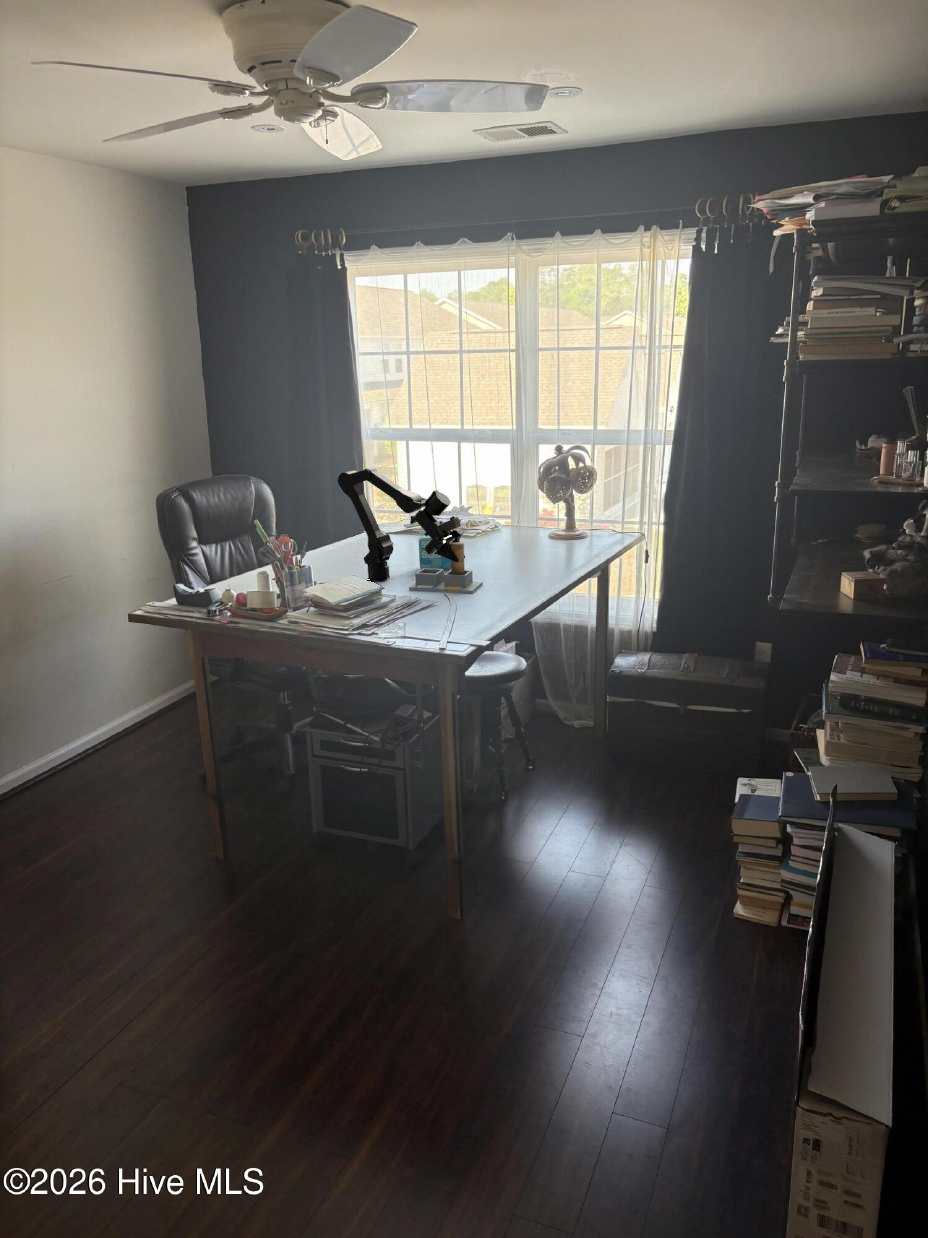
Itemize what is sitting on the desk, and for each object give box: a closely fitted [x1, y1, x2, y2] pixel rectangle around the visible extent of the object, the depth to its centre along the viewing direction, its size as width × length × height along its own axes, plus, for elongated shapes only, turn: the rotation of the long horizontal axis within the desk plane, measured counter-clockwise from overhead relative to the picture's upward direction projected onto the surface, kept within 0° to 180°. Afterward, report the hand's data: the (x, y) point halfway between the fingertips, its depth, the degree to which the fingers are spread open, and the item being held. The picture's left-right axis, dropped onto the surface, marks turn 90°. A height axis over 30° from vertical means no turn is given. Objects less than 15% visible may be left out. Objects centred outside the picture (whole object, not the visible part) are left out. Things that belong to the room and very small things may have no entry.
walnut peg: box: [450, 542, 466, 575], centre depth 296 cm, size 4×4×12 cm
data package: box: [418, 535, 451, 570], centre depth 324 cm, size 12×4×12 cm, turn 94°
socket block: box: [408, 568, 484, 595], centre depth 298 cm, size 22×12×5 cm, turn 73°
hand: (461, 560), depth 296 cm, fingers closed on walnut peg, 4 cm apart
